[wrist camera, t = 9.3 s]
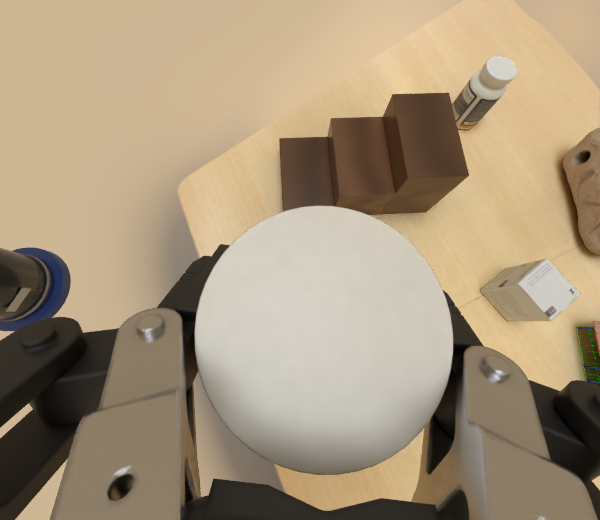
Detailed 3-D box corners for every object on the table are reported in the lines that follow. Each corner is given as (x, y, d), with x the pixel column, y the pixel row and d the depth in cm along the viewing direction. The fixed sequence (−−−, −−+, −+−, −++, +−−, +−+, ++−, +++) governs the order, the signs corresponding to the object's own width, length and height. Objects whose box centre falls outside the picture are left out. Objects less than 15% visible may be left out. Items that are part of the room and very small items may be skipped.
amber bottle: (255, 381, 15) (187, 489, 5) (254, 279, 16) (198, 209, 6) (357, 374, 15) (480, 463, 5) (347, 274, 16) (429, 200, 7)
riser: (283, 218, 43) (280, 183, 32) (280, 150, 46) (276, 97, 35) (426, 212, 44) (469, 175, 33) (413, 145, 47) (448, 92, 36)
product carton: (504, 268, 42) (547, 256, 35) (532, 299, 41) (583, 293, 34) (477, 290, 41) (517, 283, 34) (506, 322, 40) (553, 322, 33)
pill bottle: (479, 113, 49) (525, 61, 40) (470, 135, 48) (515, 88, 38) (451, 101, 50) (489, 47, 40) (441, 123, 48) (478, 73, 39)
